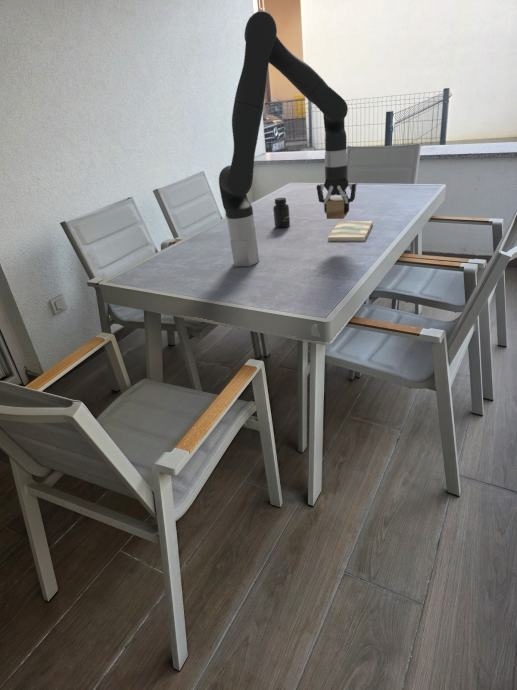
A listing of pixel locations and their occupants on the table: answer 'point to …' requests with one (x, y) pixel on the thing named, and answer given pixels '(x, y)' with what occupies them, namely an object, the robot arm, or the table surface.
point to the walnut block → (335, 208)
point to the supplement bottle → (281, 213)
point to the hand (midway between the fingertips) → (336, 213)
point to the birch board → (350, 231)
